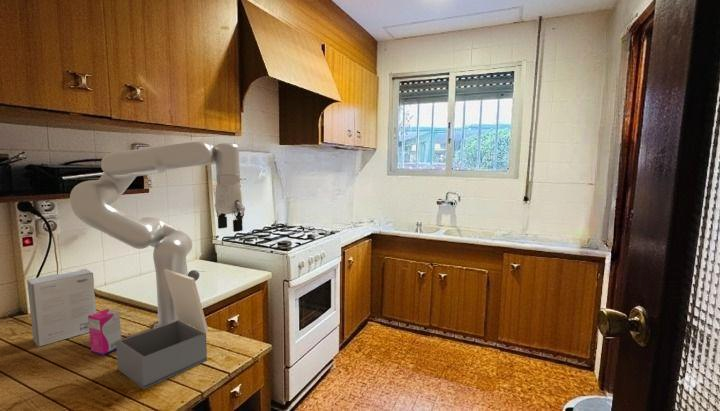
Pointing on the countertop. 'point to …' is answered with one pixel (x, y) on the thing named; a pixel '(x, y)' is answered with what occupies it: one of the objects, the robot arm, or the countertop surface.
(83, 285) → the hard drive box
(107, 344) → the supplement box
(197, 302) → the flap
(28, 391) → the countertop surface
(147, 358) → the grey storage box
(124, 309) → the countertop surface
